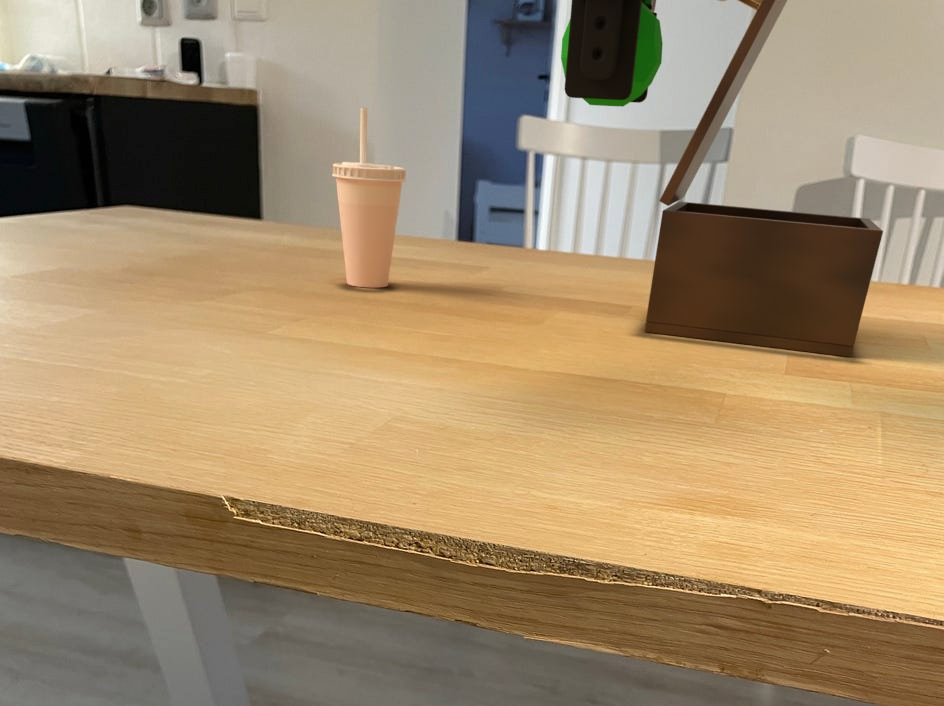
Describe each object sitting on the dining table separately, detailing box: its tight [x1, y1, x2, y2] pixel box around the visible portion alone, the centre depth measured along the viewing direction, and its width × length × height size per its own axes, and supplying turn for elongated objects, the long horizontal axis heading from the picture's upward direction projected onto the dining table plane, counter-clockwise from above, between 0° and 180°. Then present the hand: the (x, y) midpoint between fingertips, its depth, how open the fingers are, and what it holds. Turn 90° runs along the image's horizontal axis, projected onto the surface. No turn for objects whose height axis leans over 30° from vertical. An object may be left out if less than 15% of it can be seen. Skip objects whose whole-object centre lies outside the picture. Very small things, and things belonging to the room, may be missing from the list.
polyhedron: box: [560, 3, 664, 107], centre depth 47 cm, size 5×5×5 cm
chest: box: [644, 200, 884, 358], centre depth 76 cm, size 16×13×9 cm
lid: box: [659, 0, 788, 207], centre depth 71 cm, size 16×13×5 cm
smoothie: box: [331, 107, 407, 289], centre depth 83 cm, size 6×6×14 cm
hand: (607, 95), depth 48 cm, fingers closed on polyhedron, 5 cm apart
